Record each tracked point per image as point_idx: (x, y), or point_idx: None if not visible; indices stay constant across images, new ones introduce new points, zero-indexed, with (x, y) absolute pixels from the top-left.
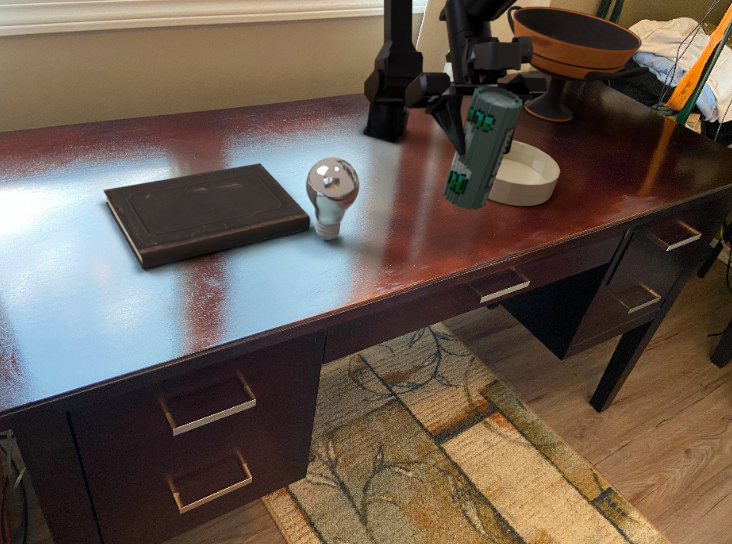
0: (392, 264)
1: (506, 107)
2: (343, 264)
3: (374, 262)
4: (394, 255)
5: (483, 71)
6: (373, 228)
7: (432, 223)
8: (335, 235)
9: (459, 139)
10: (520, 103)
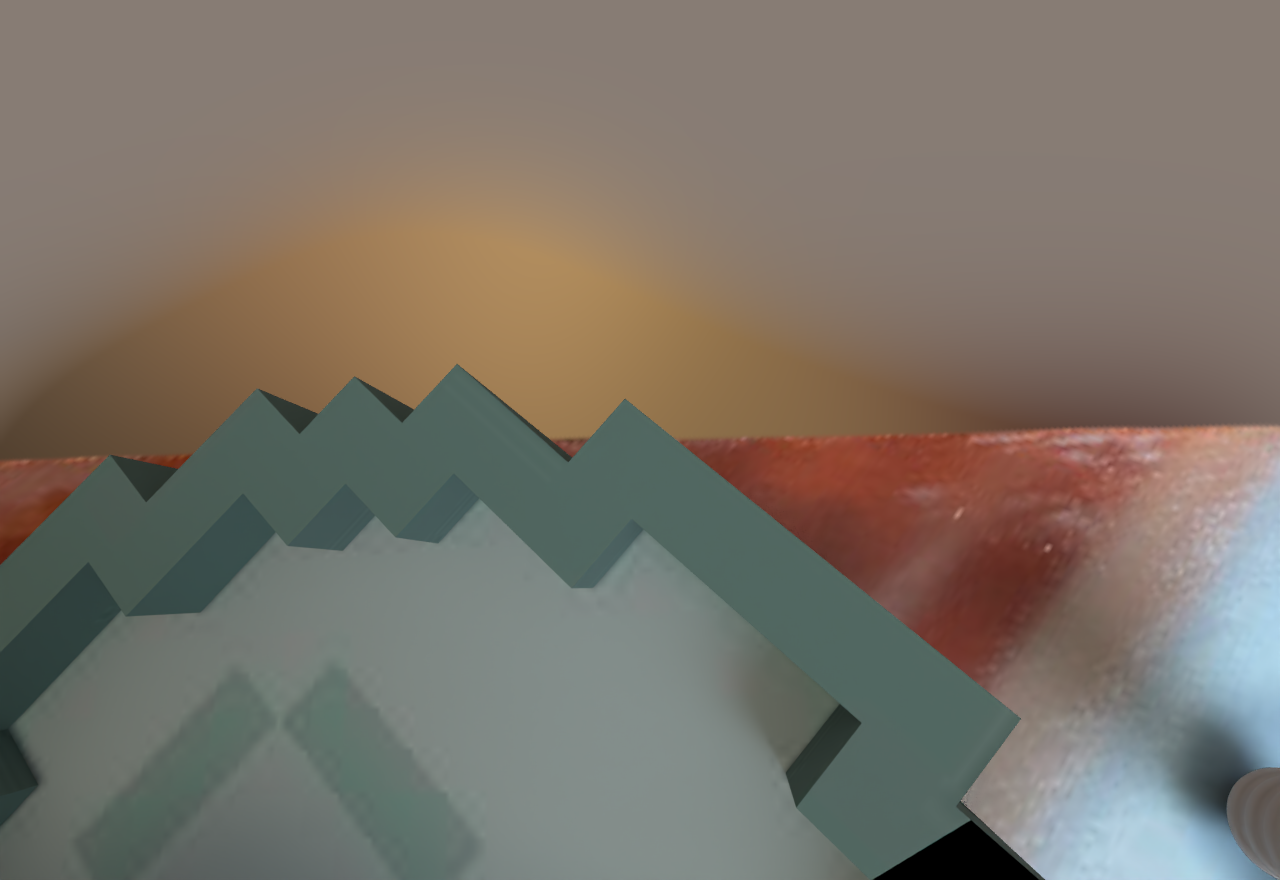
0: (1037, 550)
1: (593, 453)
2: (1234, 622)
3: (1102, 586)
4: (1002, 593)
5: None
6: (1003, 785)
7: None
8: (1272, 768)
9: None
10: (42, 571)
